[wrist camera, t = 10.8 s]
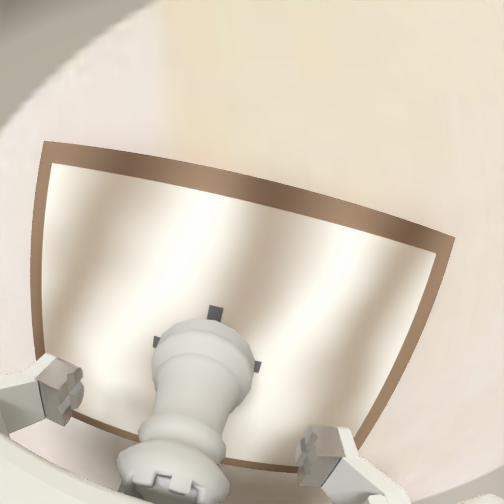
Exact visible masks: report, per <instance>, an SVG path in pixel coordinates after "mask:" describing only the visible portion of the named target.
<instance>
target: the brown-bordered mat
mask: <svg viewBox="0 0 504 504" xmlns="http://www.w3.org/2000/svg"><path fill="white" fill-rule="evenodd" d="M454 240H455V237H452V236H450V235H447V234H444V233H441V232H439V231H436V230H433V229H430V228H427V227H425V226H422V225H419V224H416V223H413V222H410V221H407V220H404V219H401V218H398V217H395V216H392V215H389V214H386V213H383V212H379V211H376V210H373V209H370V208H367V207H363V206H360V205H357V204H353V203H350V202H347V201H343V200H340V199H336V198H333V197H329V196H326V195H322V194H319V193H315V192H311V191H308V190H304V189H300V188H296V187H292V186H289V185H285V184H281V183H277V182H273V181H269V180H265V179H260V178H256V177H252V176H248V175H244V174H239V173H235V172H230V171H226V170H221V169H217V168H212V167H207V166H202V165H197V164H192V163H187V162H182V161H177V160H172V159H166V158H161V157H155V156H149V155H144V154H138V153H132V152H125V151H119V150H112V149H105V148H98V147H91V146H84V145H76V144H67V143H59V142H49V141H44V144H43V149H42V154H41V159H40V165H39V171H38V178H37V185H36V192H35V200H34V210H33V221H32V235H31V259H30V288H31V312H32V326H33V337H34V347H35V355H36V361H37V360H38V359H39V358H40V357H42V356H43V355H44V354H45V353H50V354H52V355H54V356H56V357H58V358H61V359H63V360H65V361H67V362H69V363H71V364H74V365H76V366H78V367H80V368H81V369H82V371H83V378H82V379H81V380H80V381H81V382H82V384H83V386H84V397H83V400H82V402H81V404H80V406H79V407H78V408H77V409H74V410H72V417H74V418H76V419H78V420H80V421H83V422H85V423H87V424H90V425H92V426H95V427H97V428H100V429H102V430H105V431H107V432H110V433H113V434H115V435H118V436H121V437H124V438H127V439H130V440H133V441H136V442H139V443H140V441H139V436H138V430H139V428H140V425H141V423H142V422H143V421H145V420H147V419H148V418H150V417H151V416H152V413H153V408H154V403H155V398H156V394H157V393H156V391H155V385H154V382H153V380H152V369H151V359H152V357H153V355H154V352H155V350H156V347H157V345H158V342H159V340H160V338H161V336H162V334H163V333H164V332H165V331H167V330H168V329H169V328H170V327H172V326H173V325H174V324H175V323H178V322H182V321H186V320H190V319H194V318H198V319H206V320H216V321H218V322H220V323H222V324H224V325H226V326H228V327H230V328H232V329H235V330H236V331H237V332H238V333H239V334H240V335H241V336H242V338H243V339H244V340H245V341H246V342H247V343H248V344H249V346H250V349H251V351H252V354H253V357H254V359H255V364H254V373H253V377H252V385H251V389H250V391H249V393H248V394H247V395H246V397H245V398H244V400H243V401H242V403H241V404H240V405H239V406H237V407H236V408H235V409H234V411H233V412H232V413H230V414H229V415H228V418H227V421H226V424H225V427H224V430H223V433H222V440H223V442H224V443H225V445H226V457H225V458H224V459H223V460H222V461H221V464H226V465H232V466H238V467H244V468H251V469H259V470H267V471H276V472H286V473H297V471H298V469H299V468H300V467H299V466H298V465H297V464H296V461H295V452H296V448H297V445H298V443H299V441H300V440H301V439H302V438H304V437H305V435H304V431H305V429H306V427H307V426H308V425H319V426H333V427H335V426H336V427H348V428H349V429H350V431H351V433H352V436H353V439H354V442H355V445H356V448H357V450H359V449H360V447H361V446H362V444H363V442H364V441H365V439H366V438H367V436H368V435H369V433H370V431H371V430H372V428H373V427H374V425H375V423H376V422H377V420H378V418H379V417H380V415H381V413H382V411H383V410H384V408H385V406H386V404H387V403H388V401H389V399H390V397H391V395H392V394H393V392H394V390H395V388H396V386H397V384H398V382H399V380H400V378H401V376H402V374H403V372H404V370H405V368H406V366H407V364H408V362H409V360H410V358H411V356H412V354H413V352H414V349H415V347H416V345H417V343H418V341H419V338H420V336H421V334H422V331H423V329H424V327H425V324H426V322H427V319H428V317H429V314H430V312H431V309H432V307H433V304H434V301H435V299H436V296H437V293H438V290H439V288H440V285H441V282H442V279H443V276H444V273H445V270H446V267H447V264H448V260H449V257H450V254H451V250H452V247H453V243H454Z"/></svg>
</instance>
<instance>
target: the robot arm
mask: <svg viewBox="0 0 504 504" xmlns="http://www.w3.org/2000/svg"><path fill="white" fill-rule="evenodd" d="M82 378H83V371H82V369H81V368H80V367H78V366H76V365H74V364H71V363H69V362H67V361H65V360H63V359H61V358H58V357H56V356H54V355H52V354H50V353H45V354H44V355H43V356H42V357H40V358H39V359H38V360H37V361H36V362H35V363H34V364H33V365H32V366H31V367H29V368H28V369H27V370H26V371H25V372H24V373H22V372H21V371H20V372H15V373H10V374H5V375H0V504H155V503H151V502H148V501H144V500H141V499H138V498H135V497H132V496H129V495H126V494H123V493H120V492H118V491H115V490H112V489H109V488H107V487H104V486H102V485H99V484H97V483H94V482H92V481H90V480H87V479H85V478H83V477H80V476H78V475H76V474H74V473H72V472H70V471H68V470H65V469H63V468H61V467H59V466H57V465H55V464H53V463H52V462H50V461H48V460H46V459H44V458H42V457H40V456H39V455H37V454H35V453H33V452H32V451H30V450H28V449H26V448H25V447H23V446H21V445H20V444H18V443H17V442H15V441H13V440H12V439H11V438H10V436H9V434H10V433H12V432H15V431H17V430H20V429H22V428H24V427H27V426H29V425H32V424H34V423H36V422H39V421H41V420H43V419H45V418H47V419H49V420H51V421H54V422H56V423H58V424H60V425H62V426H64V427H65V425H66V424H67V423H68V421H69V420H70V418H71V417H72V410H74V409H77V408H78V407H79V406H80V404H81V402H82V400H83V397H84V386H83V384H82V382H81V381H80V380H81V379H82ZM304 435H305V437H304V438H302V439H301V440H300V441H299V443H298V445H297V448H296V452H295V461H296V464H297V465H298V466H299V467H300V468H299V469H298V471H297V477H298V485H299V486H309V487H321V489H322V490H323V491H324V493H325V494H326V495H327V496H328V497H329V499H330V500H331V501H332V502H333V503H334V504H412V503H411V501H410V499H409V496H408V494H407V491H406V490H405V489H403V488H402V487H401V486H399V485H398V484H397V483H395V482H394V481H393V480H391V479H390V478H389V477H387V476H386V475H385V474H384V473H382V472H381V471H380V470H378V469H377V468H376V467H375V466H373V465H372V464H371V463H370V462H368V461H367V460H366V459H365V458H360V456H359V453H358V450H357V448H356V445H355V442H354V439H353V436H352V433H351V431H350V429H349V428H348V427H336V426H335V427H333V426H319V425H308V426H307V427H306V429H305V431H304ZM455 504H504V499H502V498H500V497H498V496H496V495H494V494H491V493H487V494H484V495H480V496H477V497H475V498H471V499H468V500H465V501H462V502H459V503H455Z"/></svg>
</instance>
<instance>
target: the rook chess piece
mask: <svg viewBox="0 0 504 504" xmlns="http://www.w3.org/2000/svg"><path fill="white" fill-rule="evenodd" d="M254 364H255V359H254V357H253V354H252V351H251V349H250V346H249V344H248V343H247V342H246V341H245V340H244V339H243V338H242V336H241V335H240V334H239V333H238V332H237V331H236V330H235V329H232V328H230V327H228V326H226V325H224V324H222V323H220V322H218V321H216V320H206V319H198V318H194V319H190V320H186V321H182V322H178V323H175V324H174V325H173V326H172V327H170V328H169V329H168V330H167V331H165V332H164V333H163V334H162V336H161V338H160V340H159V342H158V345H157V347H156V350H155V352H154V355H153V357H152V359H151V369H152V380H153V382H154V385H155V391H156V393H157V394H156V398H155V403H154V408H153V413H152V416H151V417H150V418H148V419H147V420H145V421H143V422H142V423H141V425H140V428H139V430H138V436H139V441H140V443H139V444H136V445H133V446H131V447H128V448H126V449H124V450H122V451H120V452H119V455H118V457H117V460H116V465H117V468H118V471H119V473H120V476H121V478H122V483H121V485H120V488H119V490H118V491H119V492H122V493H124V494H126V495H129V496H132V497H135V498H138V499H141V500H144V501H148V502H151V503H155V504H219V503H220V502H221V501H223V500H224V499H225V498H226V497H227V496H228V495H229V493H230V482H229V481H228V479H227V478H226V476H225V475H224V473H223V472H222V471H221V469H220V468H219V467H218V466H217V465H219V464H220V463H221V461H222V460H223V459H224V458H225V457H226V445H225V443H224V442H223V440H222V433H223V430H224V427H225V424H226V421H227V418H228V415H229V414H230V413H232V412H233V411H234V409H235V408H236V407H237V406H239V405H240V404H241V403H242V401H243V400H244V398H245V397H246V395H247V394H248V393H249V391H250V389H251V385H252V377H253V373H254Z"/></svg>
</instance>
